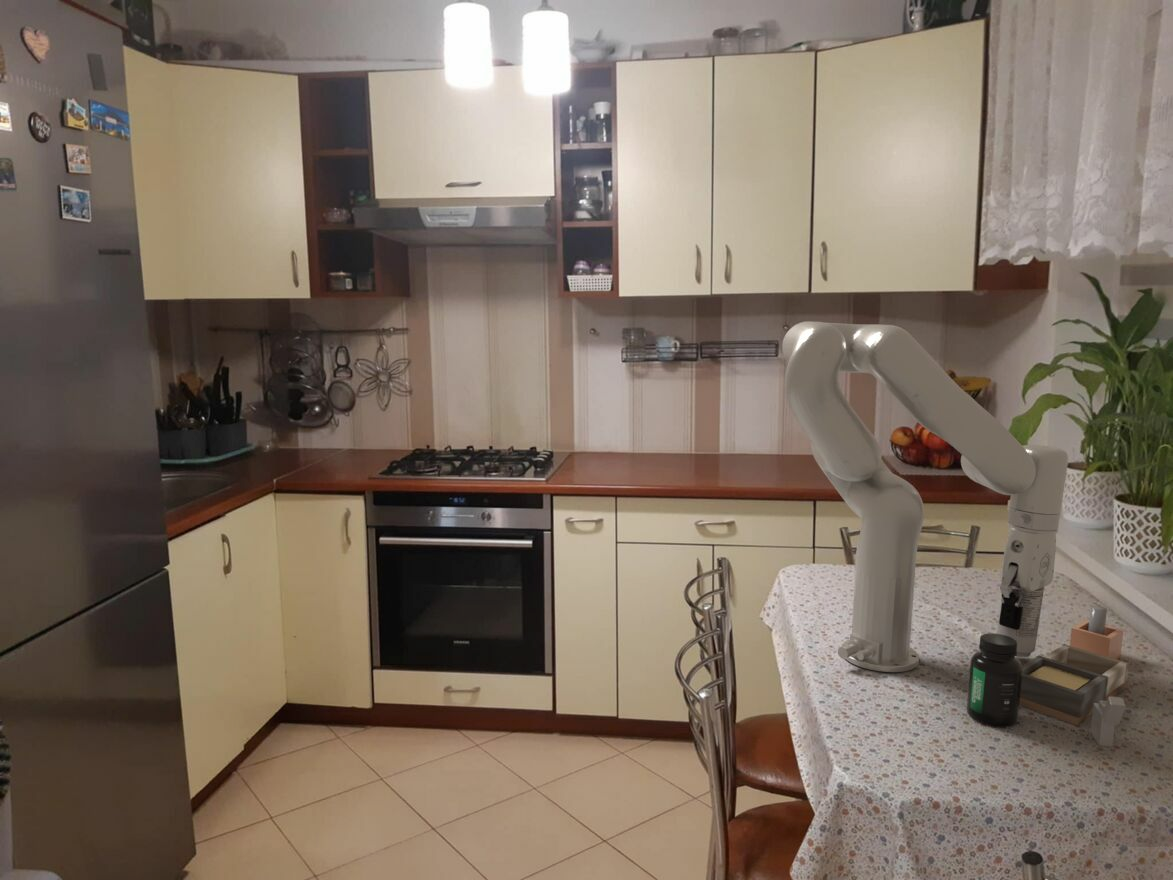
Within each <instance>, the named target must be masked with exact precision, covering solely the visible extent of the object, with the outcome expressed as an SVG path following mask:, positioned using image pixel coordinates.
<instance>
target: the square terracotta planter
mask: <svg viewBox="0 0 1173 880" xmlns="http://www.w3.org/2000/svg"><path fill="white" fill-rule="evenodd" d="M1107 614H1108V609H1107V608H1106V607H1105V606H1101V605H1090V609H1089V619H1088V620H1086V619H1085V620H1083V621H1082V622H1079V623H1077V624H1076V625H1075V626H1073V627H1071V630H1070V632H1071V633H1070V638H1069V640H1070V641H1069V646H1072V647H1076V648H1079V649H1083V650H1086V651H1089V652H1093V653H1096V654H1100V655H1103V656H1107V657H1110V658H1114V659H1117V660H1120V659H1121V655H1122V648H1123V647H1122V646H1123V637H1124V629H1121V628H1117V627H1114V626H1113V627H1112V626H1109V625H1106V621H1107Z"/></svg>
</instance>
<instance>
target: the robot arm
mask: <svg viewBox="0 0 1173 880" xmlns="http://www.w3.org/2000/svg"><path fill="white" fill-rule="evenodd" d="M781 346H782V347H781V348H782V354H783V357H784V359H785V360H786V362H787V363H788V364H787V366H786V371H785V375H784V391H785V393H784V394H785V398H786V402H787V405H788V407H789V409H790V412H791V414H793V416H794V418H795V419H796V420H797V423H798V425H800V427H801V428H802V430H803V431H804V434H805V435H806V437H807V438H808V439H809V440H810V442H811V445H810V446H811V453H812V456H813V458H814V460H815V462H816V463H817V465H818V467H819V468H820V469H821V471H822V472H823V474H824V475H825V476H826V478H827V480H829V482H830V483H831V485H832V486H833V487H834V489H835V490H836V491H837V492H838V494H839V495H840V497H841V498H842V500H843V501H844V502H845V503H846V505H847V506H848V507H849V508H850V509H851V511H852V512H853V513H854V514H856V515H857V517H858V518H860V519H861V525H860V526H861V527H860V532H859V536H858V539H857V544H856V554H855V567H854V568H855V573H854V587H853V588H854V589H853V590H854V591H853V604H852V621H851V622H852V624H851V633H850V634H849V639H848V640H845V641H844V642H843V643H842V644H841V647H839V648H838V649H837V655H838V657H840V659H843V660H846V661H847V662H849V663H851V664H853V665H855V666H857V667H860V668H862V669H866V670H869V671H874V672H875V671H876V672H883V673H903V672H908V671H911V670H913V669H915V668H917V667H918V665H919V660H920V656H919V654H918V653H917V651H915V649H914V648H912V647H911V638H912V637H911V636H912V635H911V634H912V625H913V624H912V622H913V608H914V597H915V596H914V595H915V582H916V581H915V580H916V566H917V565H916V564H917V555H918V554H917V553H918V545H919V542H920V541H919V539H920V536H921V531H922V529H923V528H922V527H923V525H924V524H923V523H924V517H925V507H924V502H923V499H922V497H921V495H920V493H919V491H918V490H917V489H916V488H915V486H914V485H912V484H911V483H910V482H909V481H907V480H906V479H904V478H903V477H900V476H898V475H897V474H895V473H893V472H892V471H891V470H890V469H889V467H888V466H887V465H886V463H885V462H884V461H883V459H882V458H883V457H882V456H883V454H882V450H881V445H880V443H879V441H878V440H877V437H875V435H874V434H873V433H872V432H871V431H870V429H869V428H868V427H867V426H866V424H865V423H864V422H863V420H862V419H861V418H860V417H859V415H858V414H857V412H856V411H855V409H854V408H853V407H852V406H851V403H850V402H849V401H848V399H847V398H846V396H845V395H844V393H843V390H842V388H841V386H840V383H839V376H840V375H839V374H840V373H848V374H850V373H851V374H870V375H872V376H873V377H874V378H875V379H876V380H877V381H878V383H879V384H881V385H882V387H883V388H884V389H885V390H886V391H888V393H890V394H891V395H892V396H893V398H894V399H895V400H896V401H897V402H898V403H899V404H900V406H901V407H902V408H904V409H905V411H906V412H907V413H908V414H909V415H910V416H911V418H913V420H914V421H916V423H918V424H919V425H920V426H922V427H923V428H924V429H926V430H927V431H928V432H930V433H932V434H933V435H936V436H937V437H938V438H940V439H941V440H944V442H947V443H948V444H949V445H950V446H951V447H953V448H954V449H955V450H956V451H957V452H958V453H960V454H961V457H960V465H961V468H962V471H963V472H964V474H965V475H966V476H967V477H968V478H969V479H970V480H972V481H973V482H975V483H977V484H979V485H981V486H984V487H987V488H988V489H990V490H992V491H994V492H996V493H999V494H1001V495H1005V496H1010V499H1009V506H1008V507H1009V508H1008V513H1007V514H1008V515H1007V520H1006V526H1008V527H1009V530H1008V535H1007V539H1006V543H1005V545H1004V546H1005V547H1004V552H1003V556H1002V557H1003V558H1002V564H1001V571H1000V582H1001V583H1000V586H999V589H1000V594H1001V598H1000V599H1001V601H1000V603H1001V602H1002V605H1001V604H1000V606H1001V612H1000V611H999V613H1000V620H999V619H998V620H999V624H1000V625H1002V626H1005V627H1008V628H1011V629H1014V630H1018V629H1020V625H1021V618H1022V611H1023V607H1021V603H1022V599H1023V596H1024V593H1025V591H1026V592H1032V591H1035V590H1037V589H1039V585H1040V581H1041V580H1042V579H1045V586H1044V588H1045V587H1047V586H1049V585H1050V584H1052V583H1053V579H1054V572H1055V571H1054V570H1055V562H1056V561H1055V559H1056V551H1057V546H1056V545H1057V534H1058V532H1059V525H1060V518H1061V511H1062V505H1063V499H1064V492H1065V485H1066V484H1065V483H1066V477H1067V471H1068V464H1069V456H1068V454H1067V452H1066V451H1065V450H1064V449H1062V448H1059V447H1055V446H1049V445H1041V444H1026V445H1022V444H1021V443H1020V442H1019V441H1018V440H1017V438H1016V437H1014V435H1013V433H1011V432H1010V431H1009V430H1008V429H1007V428H1006V427H1005V426H1004V425H1003V424H1002V422H1000V421H999V420H998V419H996V418H995V416H993V415H992V414H991V413H990V412H989V411H987V410H986V408H984V407H983V406H982V405H980V404H979V403H978V402H977V401H976V400H975V399H974V398H973V397H972V396H971V395H970V394H969V393H967V392H966V391H965V390H964V389H963V388H961V387H960V385H959V384H957V383H956V382H955V380H954V379H952V377H951V376H950V375H949V374H948V373H947V372H946V371H945V370H944V369H943V368H942V367H941V366H940V364H938V362H937V361H936V360H935V359H934V358H933V357H932V356H931V355H930V354H929V353H928V352H927V350H926V349H924V347H923V346H922V345H921V344H920V343H919V342H918V341H917V340H916V339H915V338H914V337H913V336H912V334H911V333H909V332H908V331H907V330H906V329H904V328H903V327H900V326H897V325H893V324H881V323H880V324H879V323H877V324H876V323H875V324H870V323H869V324H863V323H862V324H856V323H852V324H851V323H838V322H825V321H824V322H823V321H812V320H811V321H802V322H801V321H800V322H799V323H796V324H795V325H793V326H791V327H790V328H789V330H788V331H787V332H786V334H785V335H784V337H783V340H782V345H781ZM1014 582H1017V583H1019V584H1020V587H1021V588H1020V587H1016V586H1013V583H1014ZM1012 590H1015V591H1019V592H1018V595H1017V597H1016V595H1015V593H1014V592H1012Z"/></svg>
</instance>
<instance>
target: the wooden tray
mask: <svg viewBox="0 0 1173 880" xmlns="http://www.w3.org/2000/svg"><path fill="white" fill-rule="evenodd" d="M1045 665H1046V666H1049V667H1053V668H1056V669H1059V670H1062V671H1065V672H1069V673H1072V674H1075V675H1078V676H1081V677H1084V678H1088V679H1091V682H1089V683H1088V684H1086V685H1085V686H1083V687H1082V688H1080V689H1079V690H1078V691H1076V690H1073V689H1070V688H1066V687H1063V686H1060V685H1057V684H1054V683H1051V682H1048V681H1045V680H1042V679H1039V678H1036V677H1033V676H1030V674H1031V673H1033V672H1035V671H1036V670H1038V669H1040V668H1041V667H1043V666H1045ZM1022 667H1023V673H1022V683H1021V694H1020V705H1019V707H1024V708H1027V709H1029V710H1032V711H1035V712H1037V713H1040V714H1043V715H1046V716H1049V717H1051V718H1055V719H1057V720H1059V721H1063V722H1066V723H1069V724H1071V725H1074V726H1079V725H1080V724H1082V723H1083V722H1084V721H1085V720H1087V719H1088V718H1089V717H1092V711H1093V703H1099V701H1107V700H1108V697H1110V696H1112V697H1118V695H1120V694H1121V693H1122V692H1124V691H1125V690H1127V689H1128V687H1129V681H1128V672H1129V662H1127V661H1123V660H1120V659H1118V660H1117V659H1114V658H1110V657H1107V656H1103V655H1100V654H1096V653H1093V652H1089V651H1086V650H1083V649H1079V648H1076V647H1072V646H1070V644H1069V645H1068V644H1065V643H1064V644H1062V645H1061V646H1059V647H1058V648H1056V649H1054V650H1053V651H1051V652H1049V653H1047V654H1046V655H1044V656H1043V655H1037V656H1035V657H1033V658H1032V659H1030V660H1029V661H1027V662H1025V663H1024V664H1022Z"/></svg>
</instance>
